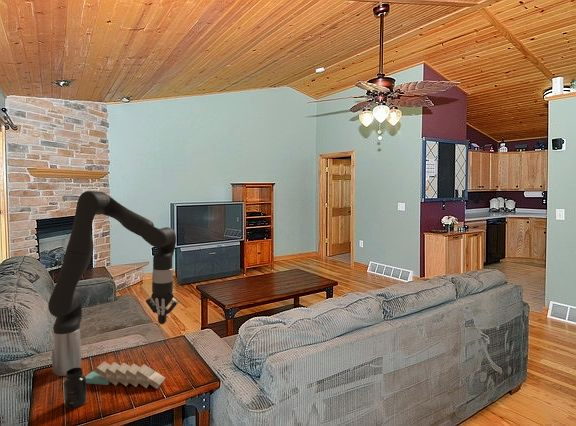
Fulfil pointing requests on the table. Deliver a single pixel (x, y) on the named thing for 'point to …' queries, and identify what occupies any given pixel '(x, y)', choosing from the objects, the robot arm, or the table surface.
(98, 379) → the domino
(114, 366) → the domino
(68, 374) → the supplement bottle
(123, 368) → the domino
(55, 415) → the table surface
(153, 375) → the domino
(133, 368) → the domino
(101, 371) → the domino
